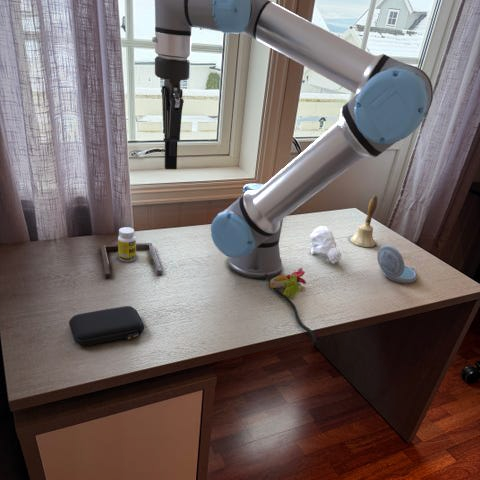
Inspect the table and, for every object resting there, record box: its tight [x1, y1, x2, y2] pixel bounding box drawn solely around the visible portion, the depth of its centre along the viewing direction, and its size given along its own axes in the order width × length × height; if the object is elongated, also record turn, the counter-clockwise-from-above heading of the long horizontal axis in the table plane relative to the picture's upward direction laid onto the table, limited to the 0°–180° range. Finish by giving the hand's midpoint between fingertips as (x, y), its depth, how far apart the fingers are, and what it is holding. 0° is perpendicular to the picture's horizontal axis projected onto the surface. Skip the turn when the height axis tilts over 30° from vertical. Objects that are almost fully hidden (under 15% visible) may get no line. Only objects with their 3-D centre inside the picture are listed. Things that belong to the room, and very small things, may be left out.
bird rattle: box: [269, 267, 307, 299], centre depth 119 cm, size 6×11×9 cm
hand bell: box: [349, 195, 378, 248], centre depth 146 cm, size 8×8×16 cm
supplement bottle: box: [117, 226, 137, 263], centre depth 121 cm, size 5×5×8 cm
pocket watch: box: [376, 244, 418, 284], centre depth 130 cm, size 10×11×15 cm
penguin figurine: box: [309, 225, 342, 265], centre depth 135 cm, size 6×8×12 cm
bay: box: [100, 242, 163, 280], centre depth 122 cm, size 16×14×2 cm
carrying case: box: [68, 305, 146, 346], centre depth 95 cm, size 11×3×15 cm
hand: (170, 168), depth 109 cm, fingers closed
